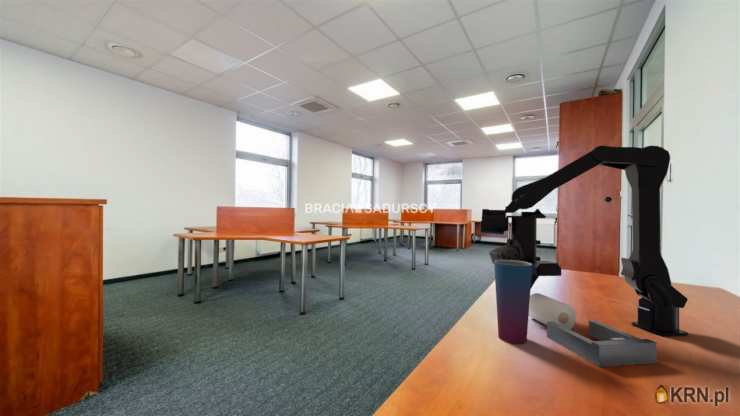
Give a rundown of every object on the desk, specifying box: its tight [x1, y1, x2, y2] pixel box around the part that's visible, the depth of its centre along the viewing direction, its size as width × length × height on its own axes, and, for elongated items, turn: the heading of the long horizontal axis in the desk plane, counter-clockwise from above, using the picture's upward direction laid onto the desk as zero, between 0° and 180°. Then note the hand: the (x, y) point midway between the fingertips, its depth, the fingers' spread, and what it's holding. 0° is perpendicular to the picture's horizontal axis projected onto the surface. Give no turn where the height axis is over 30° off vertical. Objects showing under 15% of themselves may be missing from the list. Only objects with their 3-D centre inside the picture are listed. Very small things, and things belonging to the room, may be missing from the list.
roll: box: [528, 292, 577, 331], centre depth 65 cm, size 8×6×6 cm
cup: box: [493, 260, 532, 345], centre depth 57 cm, size 7×7×15 cm
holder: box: [546, 319, 658, 368], centre depth 53 cm, size 11×11×4 cm
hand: (523, 296), depth 73 cm, fingers closed
